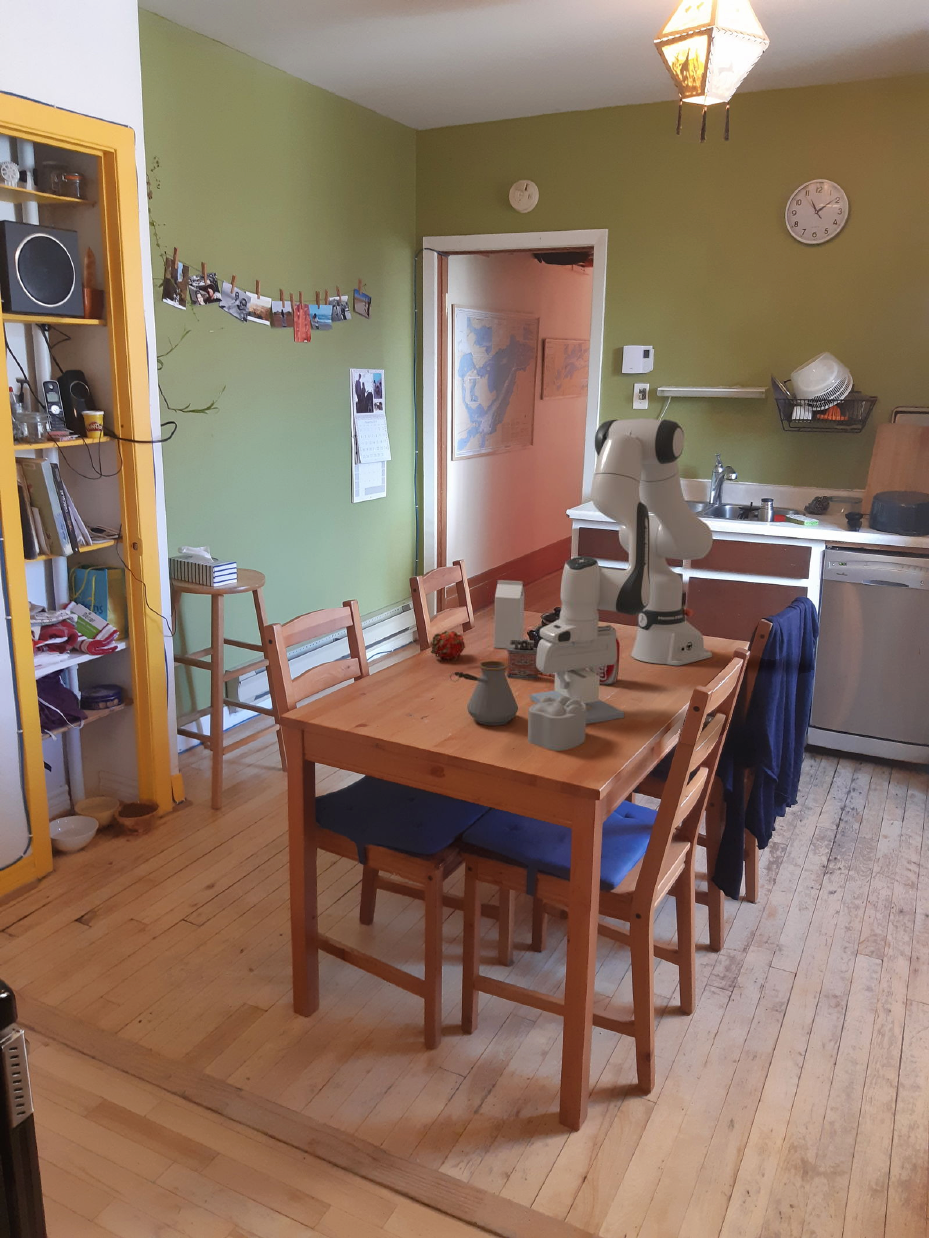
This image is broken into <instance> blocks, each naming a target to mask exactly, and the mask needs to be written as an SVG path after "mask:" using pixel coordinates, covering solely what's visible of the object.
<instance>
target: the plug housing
mask: <svg viewBox="0 0 929 1238" xmlns="http://www.w3.org/2000/svg"><path fill="white" fill-rule="evenodd" d="M564 678H565V680H567V681H569V689H561V688H560V680H559V678H558V677H557V675H556V673H554V687H553V688H554V690H553V691H557V692H559V693H561V694H563V695H565V696H567V697H569V698H570V699H571V698H573V699H578V700H580V701H582V702H583V703H589V702H595V701H598V700H599V699H600V698H599V696H600V695H599V694H600V684H599V680H600V676H599V675H597V674H595V673H593V672H591V671H589V669H588V668H585V669H578V670H571V671H566V675H565V676H564Z"/></svg>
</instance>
